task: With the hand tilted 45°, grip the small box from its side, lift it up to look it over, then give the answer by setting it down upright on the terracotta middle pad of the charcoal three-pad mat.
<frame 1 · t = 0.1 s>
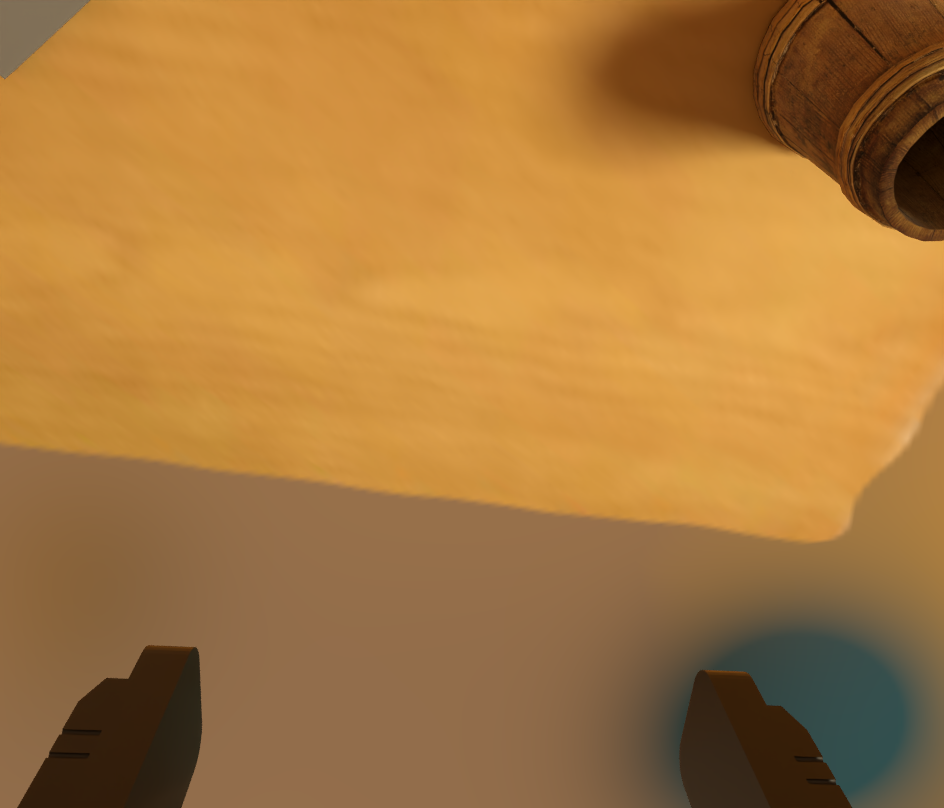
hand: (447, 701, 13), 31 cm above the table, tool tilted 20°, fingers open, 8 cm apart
wooden mug: (904, 47, 37), on the table
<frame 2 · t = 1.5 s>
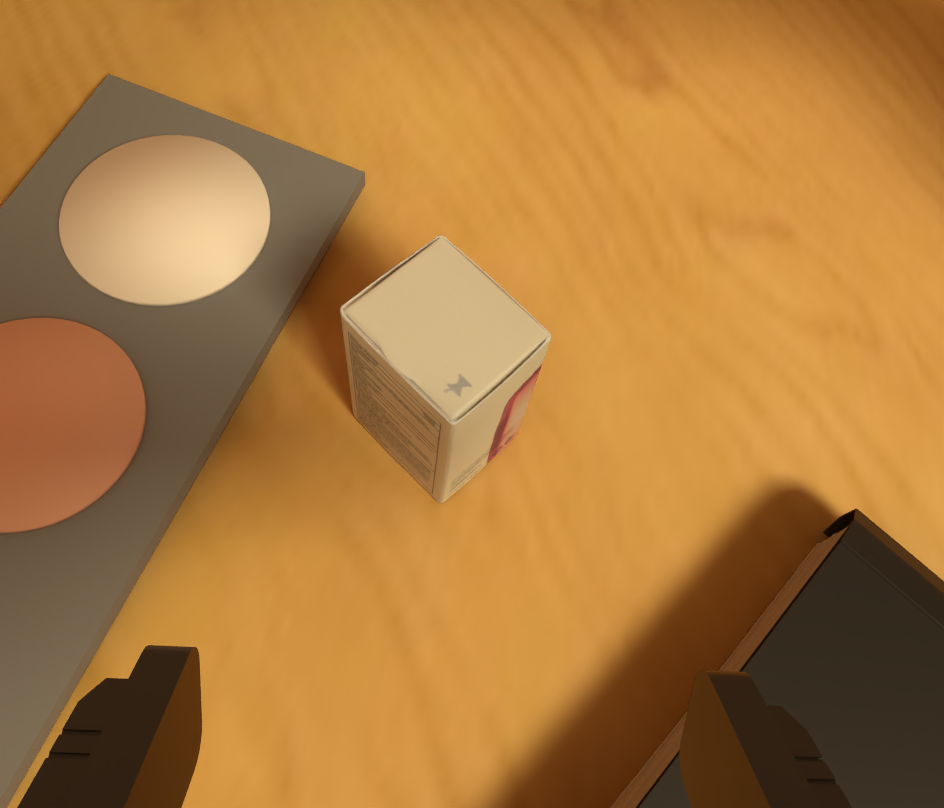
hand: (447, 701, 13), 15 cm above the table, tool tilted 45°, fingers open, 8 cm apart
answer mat: (36, 430, 29), on the table
small box: (434, 426, 31), on the table
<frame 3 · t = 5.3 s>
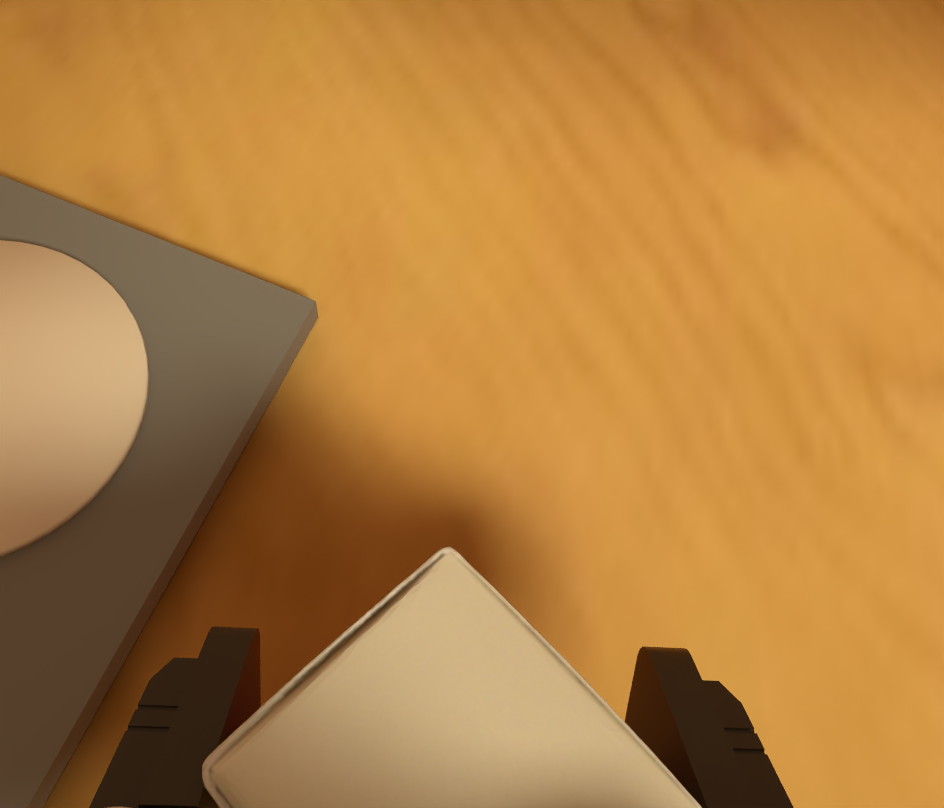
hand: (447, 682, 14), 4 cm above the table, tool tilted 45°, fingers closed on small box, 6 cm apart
small box: (432, 786, 17), on the table, touching gripper
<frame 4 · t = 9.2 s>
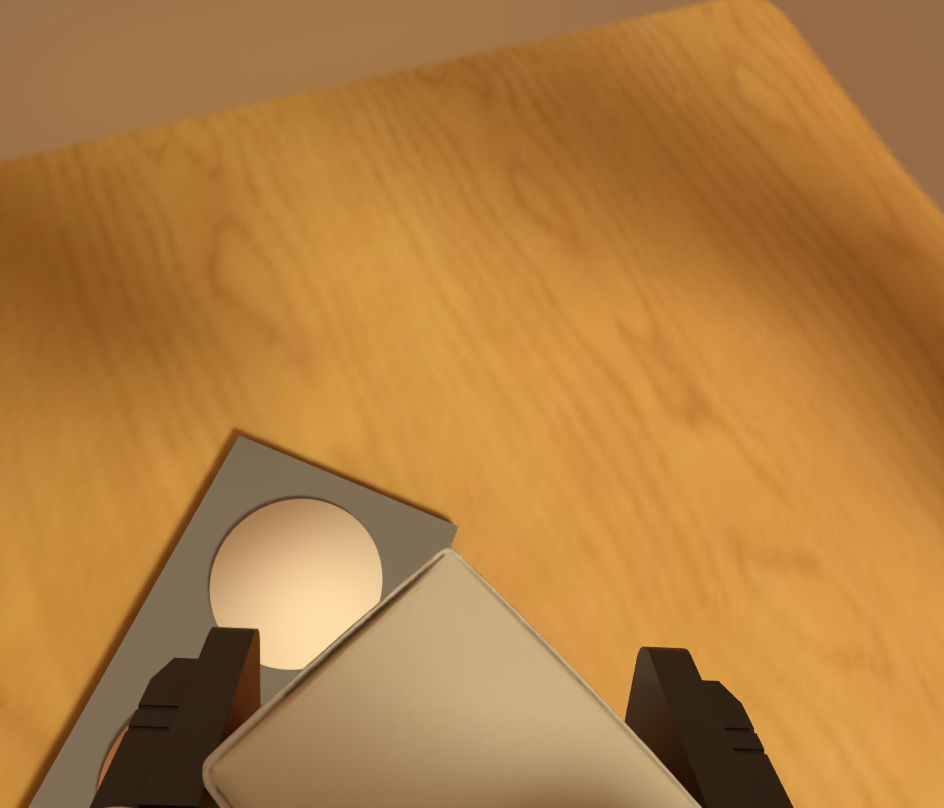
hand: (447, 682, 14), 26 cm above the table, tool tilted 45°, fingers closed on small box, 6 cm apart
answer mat: (200, 786, 36), on the table
small box: (431, 786, 17), point 22 cm above the table, touching gripper
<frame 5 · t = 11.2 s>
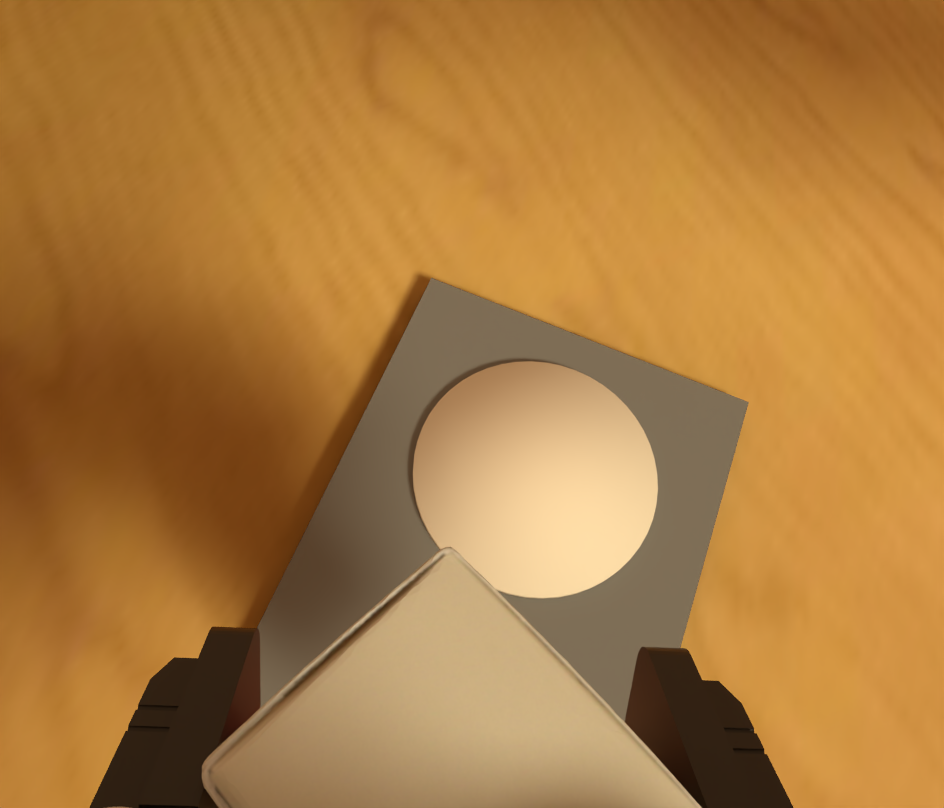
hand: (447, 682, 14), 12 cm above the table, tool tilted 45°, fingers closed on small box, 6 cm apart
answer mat: (420, 770, 24), on the table
small box: (431, 786, 17), point 7 cm above the table, touching gripper
when the fingers open (7 cm above the table, at t = 13.0 s): small box drops 1 cm, resting on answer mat.
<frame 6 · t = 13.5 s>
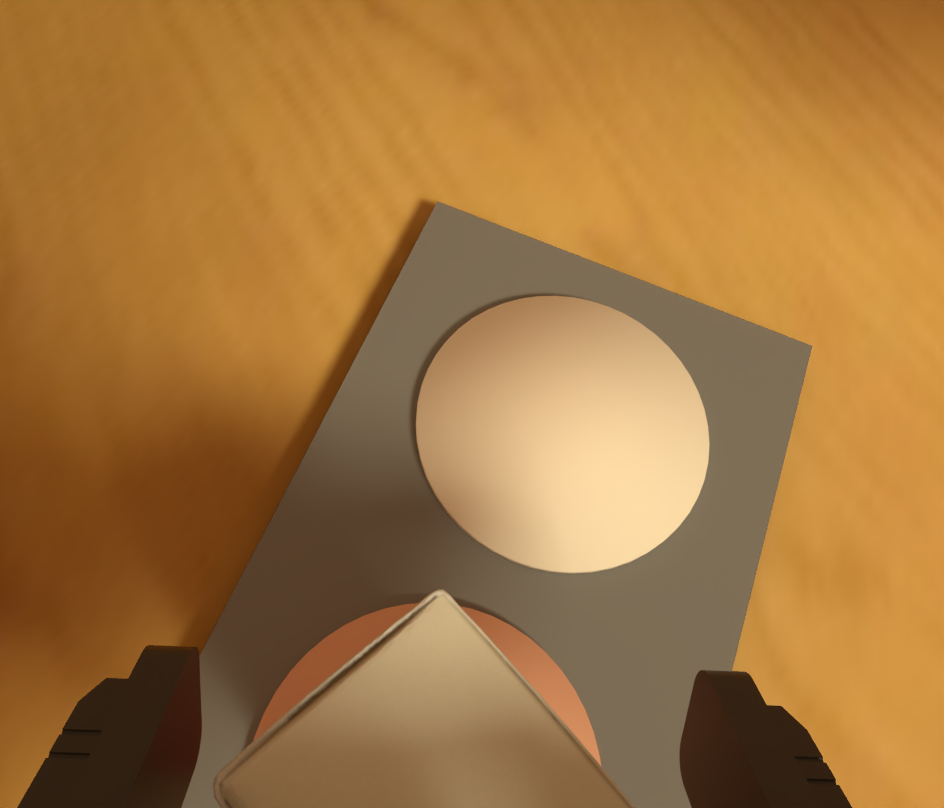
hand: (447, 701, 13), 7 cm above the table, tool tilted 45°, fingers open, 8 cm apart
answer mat: (425, 783, 19), on the table
small box: (422, 798, 18), point 1 cm above the table, touching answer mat
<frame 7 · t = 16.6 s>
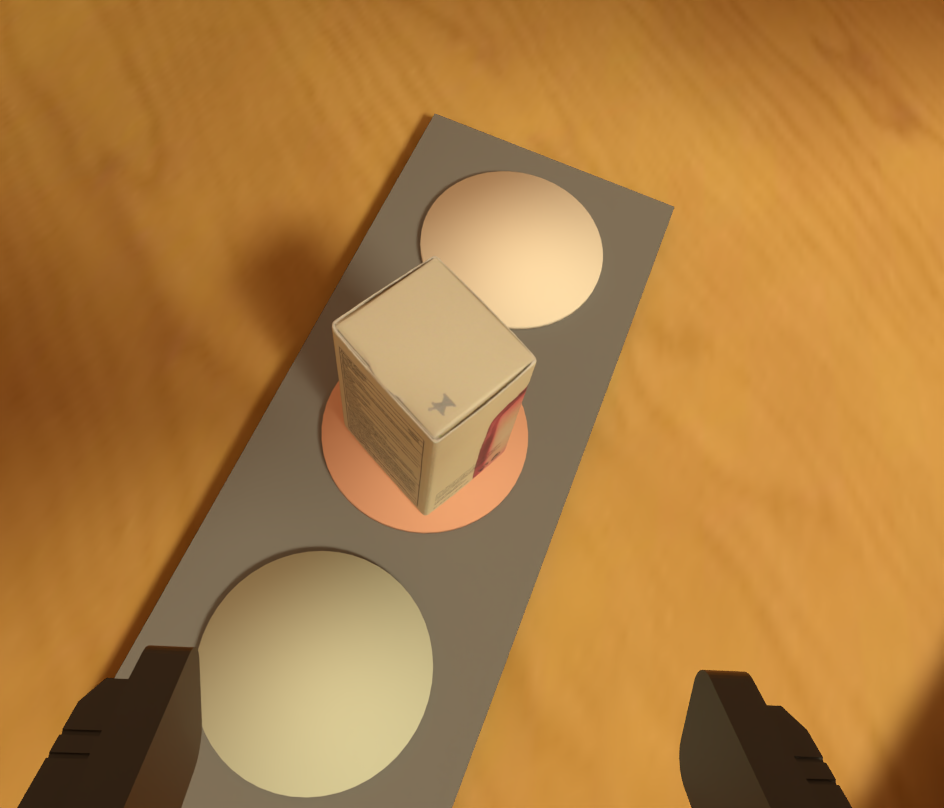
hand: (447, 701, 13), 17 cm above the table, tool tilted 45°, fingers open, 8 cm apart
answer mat: (424, 440, 33), on the table
small box: (423, 439, 32), point 1 cm above the table, touching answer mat
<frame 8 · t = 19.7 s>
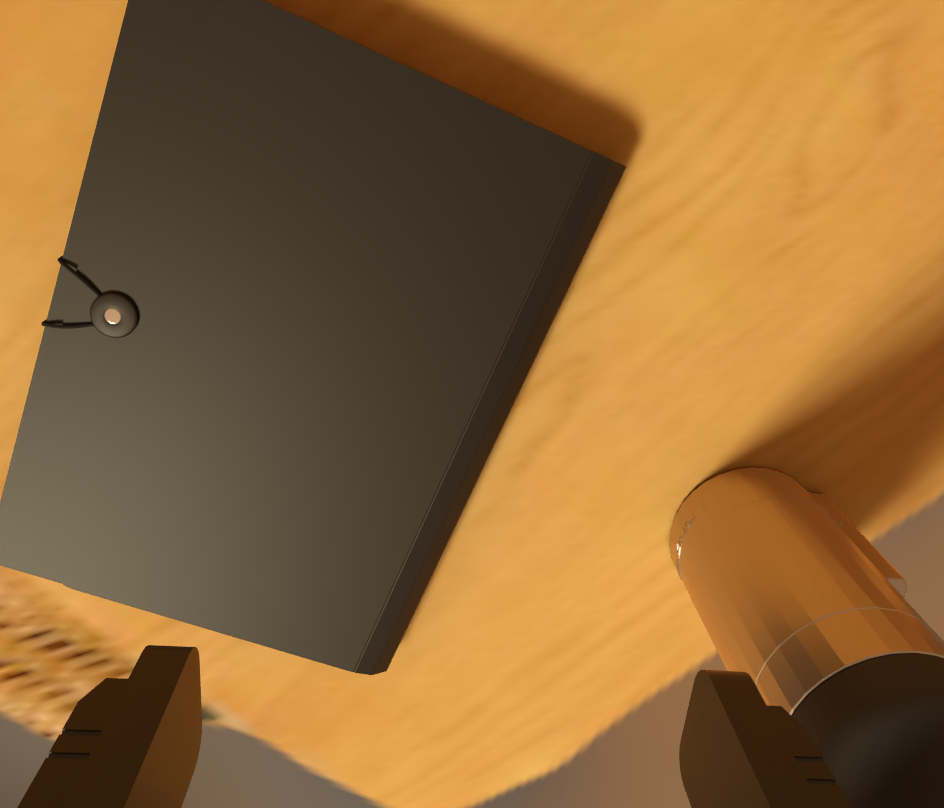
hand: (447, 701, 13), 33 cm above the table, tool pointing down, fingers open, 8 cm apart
file folder: (295, 355, 46), on the table
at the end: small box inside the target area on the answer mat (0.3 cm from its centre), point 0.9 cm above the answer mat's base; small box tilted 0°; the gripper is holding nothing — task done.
